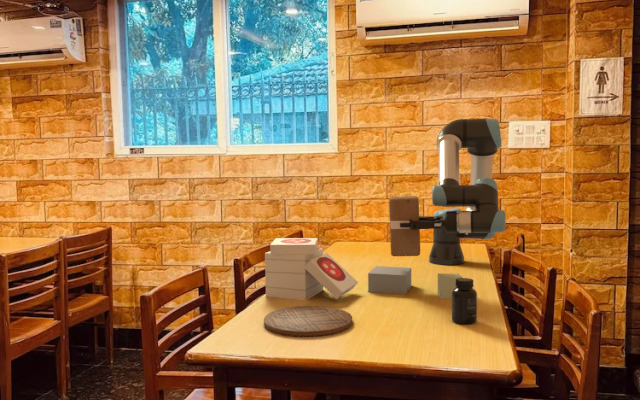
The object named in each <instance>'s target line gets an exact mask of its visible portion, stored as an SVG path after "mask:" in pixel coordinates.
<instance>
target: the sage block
mask: <svg viewBox="0 0 640 400" xmlns="http://www.w3.org/2000/svg"><path fill="white" fill-rule="evenodd" d="M457 278H464V277H463V276H462V275H461V274H460V273H458V272H456V273H454V272H453V273H448V272H446V273H442V272H441V273H439V272H438V273H437V295H438V296H439V298H440V299H441V300H443V299H444V300H449V299H450V300H452V291H453V289H454V288H456V286H455V284H456V279H457Z"/></svg>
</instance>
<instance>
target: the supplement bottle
mask: <svg viewBox="0 0 640 400" xmlns="http://www.w3.org/2000/svg"><path fill="white" fill-rule="evenodd" d="M455 286H456V288H454V289H453V291H452V299H451V321H452V322H453V323H455V324H457V325H463V326H471V325H474V324H476V323H477V321H478V318H477V317H478V293H477V291H476V289H475V288H474V286H475V285H474V279H472V278H469V277H463V278H457V279H456V284H455Z"/></svg>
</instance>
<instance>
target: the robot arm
mask: <svg viewBox="0 0 640 400" xmlns="http://www.w3.org/2000/svg"><path fill="white" fill-rule="evenodd" d="M501 133H502V132H501V126H500V121H499V120H498V119H497V118H487V117H485V118H458V119H455V120H452V121H450V122H448V123H447V124H446V125H445V126H444V127H443V128H442V129H441V130H440V131H439V133H438V136H436V145H435V146H436V149H437V151H438V167H437V168H438V169H437V171H438V173H437V184H435V185H433V186H432V189H431V191H432V193H431V194H432V195H431V198H432V199H431V202H432V203H431V204H432V205H433V206H434V207H443V208H444V209H439V210H437V211H435V212H434V213H433V216H431V215H430V216H429V215H427V216H423V215H422V216H420V215H419V221H412V219H409V220H410V221H390V220H389V227H390V226H391V229H411V230H415V229H420V230H428V229H429V230H430V229H431V230H432V229H433V231H432V240H433V241H432V247H431V250H430V252H429V256H428V262H429V263H431V264H434V265H443V266H444V265H445V266H448V265H450V266H452V265H461V264H464V263H465V255H464V253H463V250H462V247H461V239H464V240H465V239H469V240H472V239H476V240H491V239H493V238H494V236H495V235H496V234H497V233H498V234H499V233H504V232H505V231H506V224H507V223H506V212H505V210H502V209H499V190H498V183H497V181H496V180H495V179H493V167H494V165H493V164H494V163H493V162H494V156H495V155H496V154H498V149H500V148H502V134H501ZM461 149H467V154H468V155H470V179H469V180H470V181H469V182H470V184H460V183H461V182H460V150H461ZM445 207H446V209H445ZM448 207H449V208H448ZM452 207H454V208H452ZM456 207H457V208H456ZM459 207H463V208H464V207H466V209H465V210H462V209H461V208H459Z"/></svg>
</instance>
